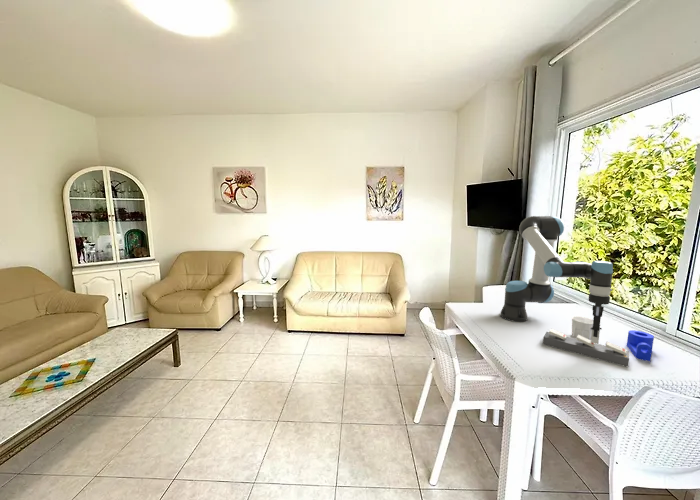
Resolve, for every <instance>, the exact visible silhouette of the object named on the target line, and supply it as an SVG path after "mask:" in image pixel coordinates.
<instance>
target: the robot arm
mask: <svg viewBox="0 0 700 500" xmlns="http://www.w3.org/2000/svg"><path fill="white" fill-rule="evenodd" d="M564 230H565V225H564V222H563V221H562V219H561V218H560V217H558V216H553V215H552V216H551V215H548V216H547V215H544V216H543V215H541V216H540V215H539V216H536V215H533V216H528V217H526V218H523V220H522V221H521V222H520V225H519V228H518V231H519V235H520V236H521V238H522V239H523V240H526V241H527V242H528V244H529V245H530V246H531V248H532V249H533V250H534V252H535V253H534V260H533V268H532V275H531V278H530V279H528V282H527V281H525V280H524V281H523V280H510V281H507V283H506V284H505V288H504V289H505V290H504V291H505V292H504V303H503V304H504V305H502V308H501V310H500V317H501V318H503V319H504V320H508V321H510V322H519V323H521V322H526V321H528V313H527V309H526V303H538V304H542V303H549V302H551V300H552V299H553V298H554V295H555V290H554V287H553V285H552V283H551V282H550V280H549V278H550V277H552V278H584V279H588V280H590V282H589V287H588V288H589V289H588V292H589V294H588V302H590V303H593V304H592V307H591V308H592V316H593V319H592V320H593V327H592V328H591V329H592V337H591V342H592V343H596V344H599V341H600V333H601V330H602V327H601V319H602V318H601V317H603V312H604V310H605V309H604V308H605V307H604V306H603V305H609V304H610V299H611V296H610V295H611V292H612V291H613V288H611V287H612V280H613V273H614V268H613V266H614V265H613V263H612V262H610V261H605V260H594V261H592V262H591V263H590V262H586V261H579V260H578V261H577V260H576V261H574V262H570V261H564V260H563V259H562V258H561V257H560V256H559V254H558V253H557V252H556V251H555V249H554V243H555V242H556V241H558V237H560V236H562V234H563V233H564Z"/></svg>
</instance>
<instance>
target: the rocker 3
mask: <svg viewBox="0 0 700 500" xmlns="http://www.w3.org/2000/svg"><path fill="white" fill-rule="evenodd" d="M605 347H607V348H609V349H612V350H614V351H617V352H619V353H622V354H624V355H625V354H626V351H627V349H626V348H623V347H621V346H618V345H616V344H614V343H611V342H609V341H606V342H605Z"/></svg>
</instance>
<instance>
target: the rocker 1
mask: <svg viewBox="0 0 700 500" xmlns="http://www.w3.org/2000/svg"><path fill="white" fill-rule="evenodd" d="M548 332H549V333H550V334H552V335H554V336H557V337H559V338H561V339H564V340H565V339H566V336H567V334H565V333H563V332H560V331H558V330H555V329H553V328H550V330H549V331H548ZM567 337H568V336H567Z"/></svg>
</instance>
